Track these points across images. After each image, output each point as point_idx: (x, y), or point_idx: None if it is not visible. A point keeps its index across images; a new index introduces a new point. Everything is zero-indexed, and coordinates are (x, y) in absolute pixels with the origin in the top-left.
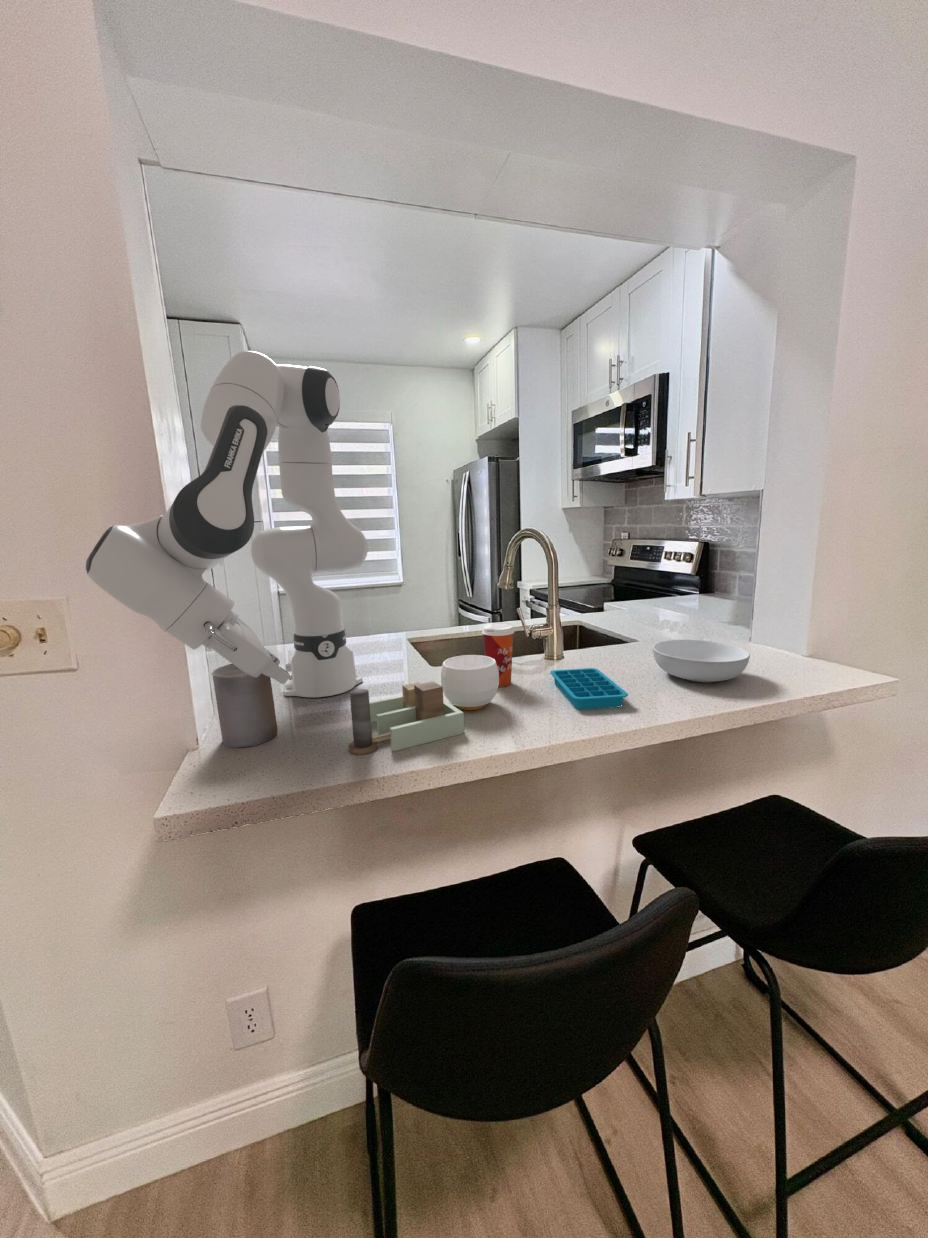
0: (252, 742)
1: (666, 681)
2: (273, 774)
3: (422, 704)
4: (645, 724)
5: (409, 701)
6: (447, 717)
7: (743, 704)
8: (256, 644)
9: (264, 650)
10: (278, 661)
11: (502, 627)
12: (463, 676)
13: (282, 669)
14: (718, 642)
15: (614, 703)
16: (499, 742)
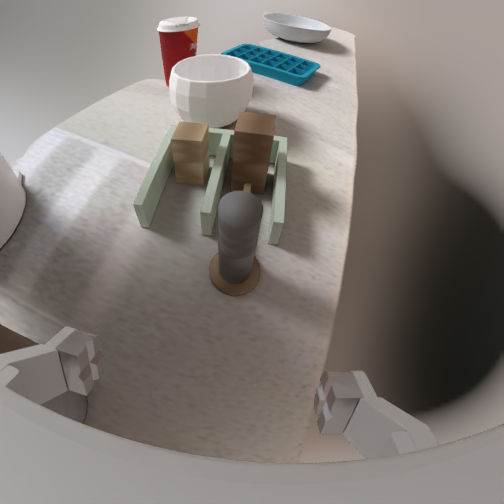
0: (83, 412)
1: (288, 45)
2: (227, 428)
3: (266, 155)
4: (352, 88)
5: (202, 157)
6: (286, 154)
7: (350, 58)
8: (495, 499)
9: (498, 455)
10: (97, 342)
11: (186, 19)
12: (237, 88)
13: (374, 394)
14: (290, 14)
15: (312, 73)
16: (328, 154)
